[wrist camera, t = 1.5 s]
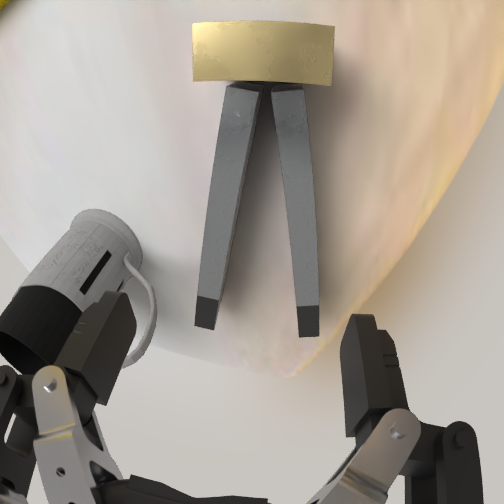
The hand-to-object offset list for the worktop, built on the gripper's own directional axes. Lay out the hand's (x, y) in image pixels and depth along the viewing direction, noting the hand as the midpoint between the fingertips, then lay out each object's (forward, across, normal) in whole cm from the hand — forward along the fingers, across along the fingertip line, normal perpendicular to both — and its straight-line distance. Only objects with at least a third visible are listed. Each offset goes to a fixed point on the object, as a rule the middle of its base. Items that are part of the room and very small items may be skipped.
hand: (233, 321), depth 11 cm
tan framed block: (+15, 0, -9) cm, 17 cm away
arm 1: (+15, +3, +3) cm, 15 cm away
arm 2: (+15, -3, +3) cm, 15 cm away
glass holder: (+15, +13, +8) cm, 22 cm away
